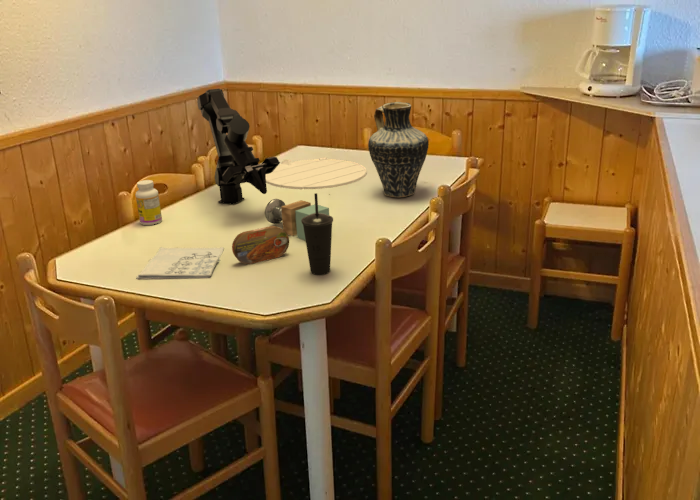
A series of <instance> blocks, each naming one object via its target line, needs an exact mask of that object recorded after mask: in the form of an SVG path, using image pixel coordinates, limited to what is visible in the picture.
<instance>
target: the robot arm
mask: <svg viewBox="0 0 700 500" xmlns="http://www.w3.org/2000/svg"><path fill="white" fill-rule="evenodd" d="M196 102H197V108H198V110H199V111H200V114H201V116H202V118H204V119H205V120H206V121H207V122H208V124H209V127H210V130H211V135H212V139H213V143H214V146H215V149H216V153H217V154H216V155H217V157H218V159H217V162H216V166H215V167H216V168H215V172H214V182H215V185H217V187H218V188H219V194H220V195H219V196H220V200H218V201H217V202H218V204H224V205H225V204H227V205H236V204H239V203H240V202H242V201H243V200H245V197H243V189H242V187H241V184H245V183H248V184H250V185H252V186H253V187H254V188H255V189H257V191H259V192H260V193H261V194H263V195H266V194H267V192H268V190H267V183H266V174H269V173H271V172H273V171H274V169H275V168H276V167H277V166H278V165H280V164H281V162H280V161H279V158H278V157H277V156H270V157H266V158H265V159H264V160H263V161H262V163H259V162H260V161H261V160H260V158H259V157H257V158H256V157H255V155H254V153H253V151H254V148H253V146H249V145H248V143H247V142H246V141H247V138H248V135H249V131H250V126H251V125H250V123H249V121H247V119H246V118H244V117H243V116H242V115H240V113H239V111H238V110H236V109H232V108H231V107H230V104H229V103H228V102H227V99H226V98H225V93H224V92H223V89H222V88H221V89H220V88H211V89H207V90H205V92H204V93H202V94H200V95H199V96H198V98H197V100H196Z"/></svg>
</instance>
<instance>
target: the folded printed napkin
mask: <svg viewBox="0 0 700 500" xmlns="http://www.w3.org/2000/svg"><path fill="white" fill-rule="evenodd" d="M224 250H225V248H224V247H222V246H221V247H216V246H214V247H162V246H161V247H159V249H158V250H157V252H156V253H155V255H153V257H151V258H150V259H149V260H148V262H147V263H146V264H145V266H144V267H143V269H142V270H141V271H140V272H139V273H138V274H137V275H136V277H135V279H136V280H142V279H143V280H145V279H146V280H148V279H151V280H153V279H155V280H156V279H162V280H163V279H205V278H206V279H208V278H210V277H211V276H212V275H213V271H214V270H215V266H216V265H217V264H218V263H219V262H220V261H221V259H220V258H221V256H222V254H223V253H224Z"/></svg>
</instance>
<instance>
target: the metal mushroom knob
mask: <svg viewBox="0 0 700 500" xmlns="http://www.w3.org/2000/svg"><path fill="white" fill-rule="evenodd" d="M285 205H286V203H285V202H284V201H283V200H282V199H278V198H273V199H271V200H270V201H269V202H268V203H267V205H266V206H265V209H264V217H265V219H266V220H267V222H268V223H270V224H274V225H277V224H280V223H281V222H283V221H282V208H281V207H282V206H285ZM295 219H296V214H295Z"/></svg>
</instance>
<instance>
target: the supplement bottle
mask: <svg viewBox="0 0 700 500" xmlns="http://www.w3.org/2000/svg"><path fill="white" fill-rule="evenodd" d="M136 185H137V189H138V190H137V191H136V192H135V201H136V207H137V213H138V219H139V223H140V224H141V225H142V224H143V225H142V226H154V224H155V225H158V224H160V223H161V222H162V221H163V215H162V211H161V210H162V209H161V203H160V196H159V191H158V190H157V189H156V188H154V181H153V180H152V179H151V180H150V179H145V180H144V179H143V180H140V181H138V182H136ZM157 223H158V224H157Z"/></svg>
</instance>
